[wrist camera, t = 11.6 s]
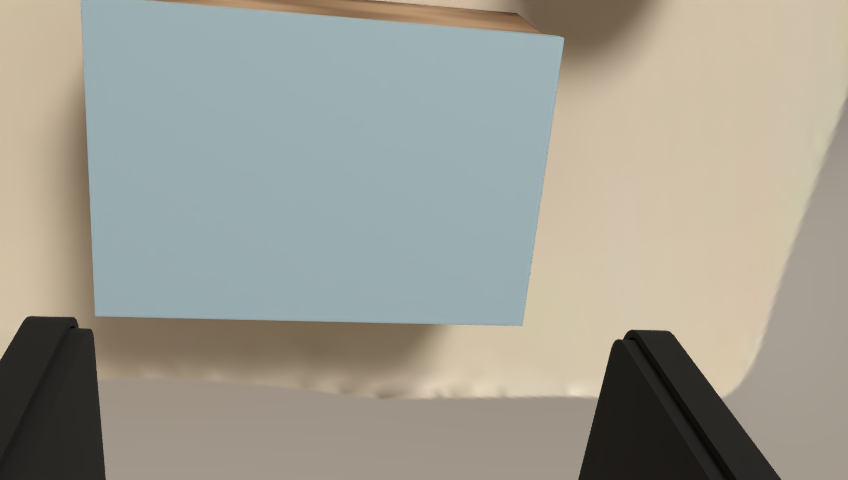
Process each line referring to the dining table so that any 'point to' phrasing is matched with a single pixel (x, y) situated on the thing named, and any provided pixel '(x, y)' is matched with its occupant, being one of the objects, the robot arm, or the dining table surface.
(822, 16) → the dining table surface
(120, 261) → the lid
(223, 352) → the dining table surface
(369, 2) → the crate
